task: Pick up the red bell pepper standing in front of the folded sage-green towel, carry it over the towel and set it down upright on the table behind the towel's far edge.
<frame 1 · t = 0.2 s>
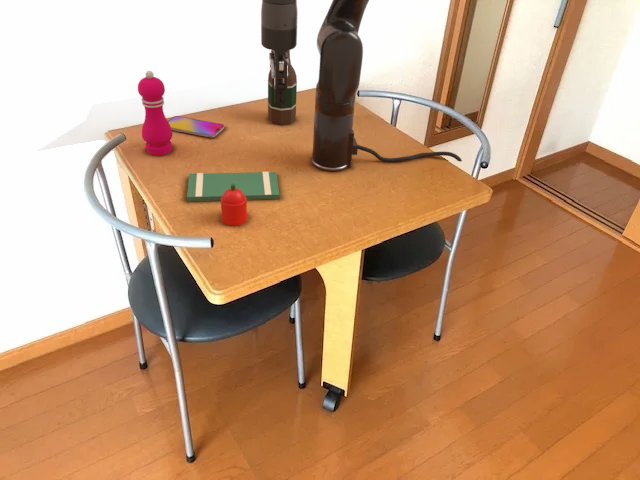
hand: (278, 97, 125), 17 cm above the table, tool pointing down, fingers open, 8 cm apart
beer bottle: (281, 120, 155), on the table
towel: (233, 188, 125), on the table
pepper mill: (159, 150, 137), on the table
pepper: (234, 218, 116), on the table
smartphone: (194, 128, 148), on the table
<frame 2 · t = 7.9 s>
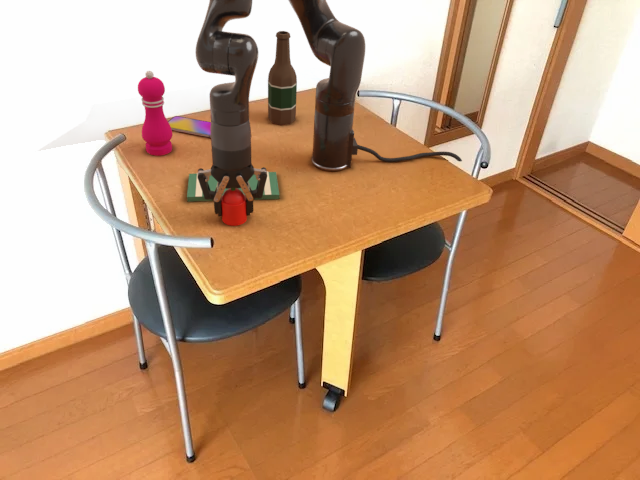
hand: (234, 213, 115), 1 cm above the table, tool pointing down, fingers closed on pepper, 5 cm apart
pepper: (234, 218, 116), on the table, touching gripper
everything else where it was.
when the fingers open (1 cm above the table, at t = 15.1 s): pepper stays where it is, on the table.
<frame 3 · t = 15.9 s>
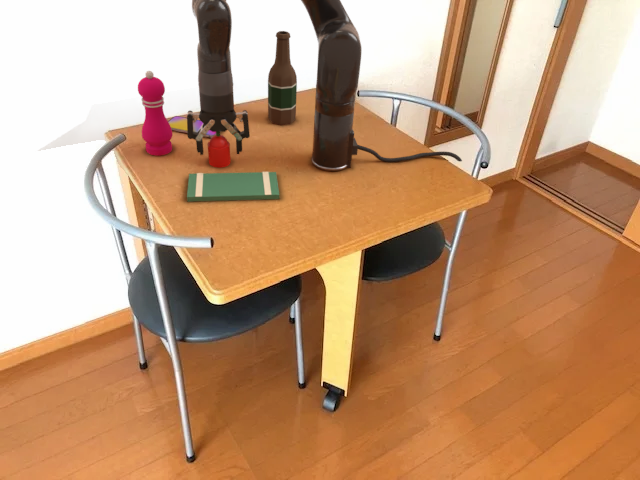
hand: (220, 153, 132), 3 cm above the table, tool pointing down, fingers open, 8 cm apart
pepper: (219, 162, 134), on the table
everything else where it was.
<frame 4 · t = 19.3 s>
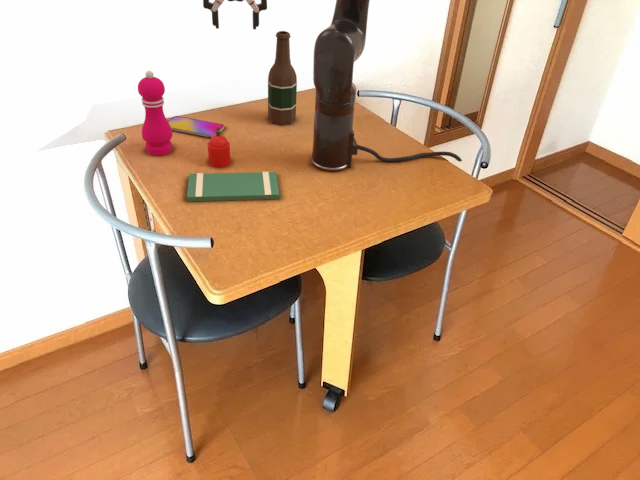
hand: (236, 28, 128), 28 cm above the table, tool pointing down, fingers open, 8 cm apart
nothing on the table moved.
at the end: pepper inside the target area on the table beside the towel (1.4 cm from its centre), on the table; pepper tilted 0°; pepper touching table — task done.
